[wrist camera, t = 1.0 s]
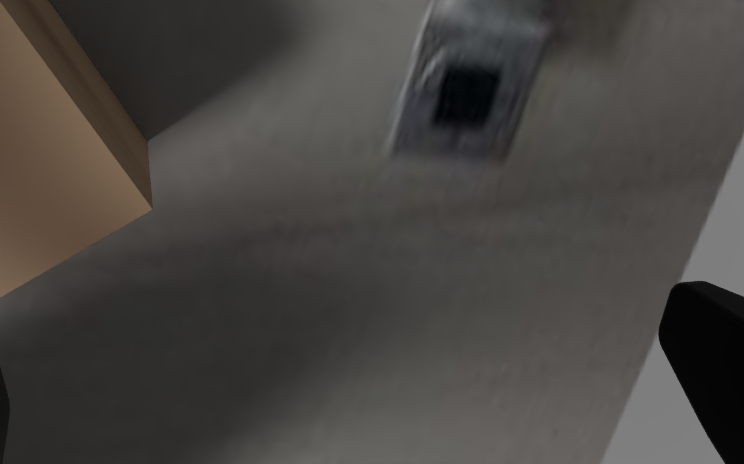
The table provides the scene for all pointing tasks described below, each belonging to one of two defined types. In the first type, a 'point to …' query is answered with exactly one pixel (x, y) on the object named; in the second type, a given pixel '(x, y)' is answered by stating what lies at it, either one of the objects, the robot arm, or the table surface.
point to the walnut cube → (59, 147)
